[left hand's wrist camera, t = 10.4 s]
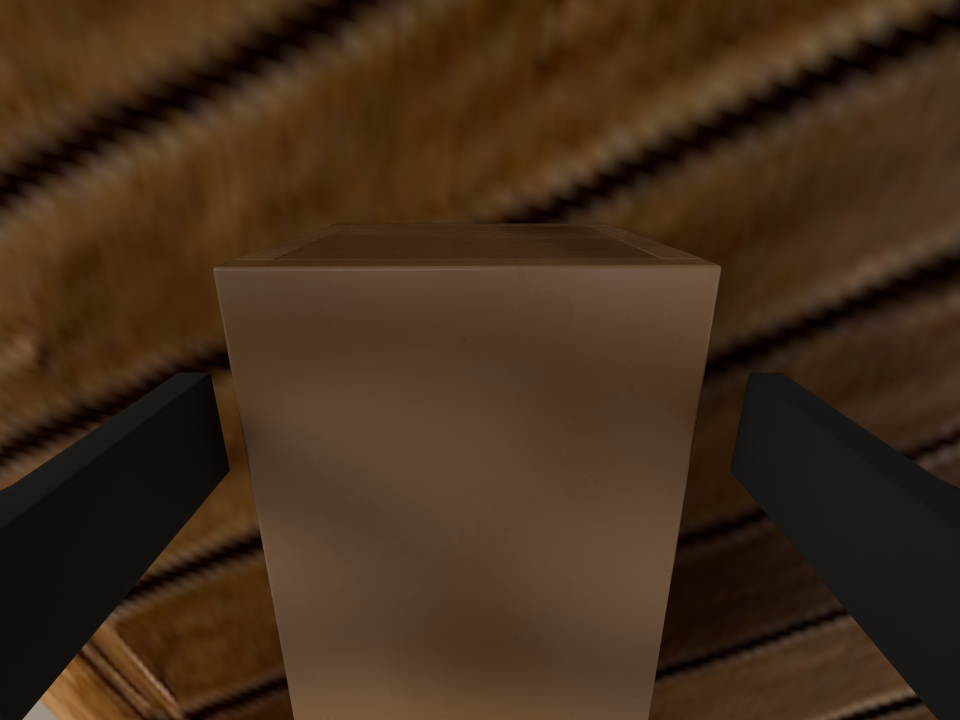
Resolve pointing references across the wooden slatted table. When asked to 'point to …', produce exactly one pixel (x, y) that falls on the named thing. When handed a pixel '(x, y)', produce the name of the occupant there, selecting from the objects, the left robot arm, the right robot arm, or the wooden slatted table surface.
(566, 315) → the cabinet
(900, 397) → the wooden slatted table surface
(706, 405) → the wooden slatted table surface
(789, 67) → the wooden slatted table surface
